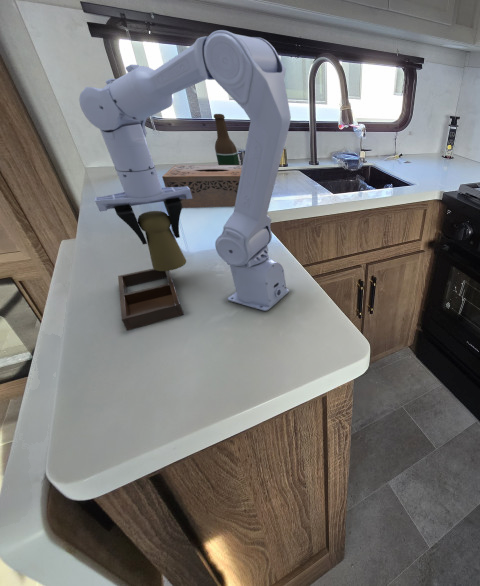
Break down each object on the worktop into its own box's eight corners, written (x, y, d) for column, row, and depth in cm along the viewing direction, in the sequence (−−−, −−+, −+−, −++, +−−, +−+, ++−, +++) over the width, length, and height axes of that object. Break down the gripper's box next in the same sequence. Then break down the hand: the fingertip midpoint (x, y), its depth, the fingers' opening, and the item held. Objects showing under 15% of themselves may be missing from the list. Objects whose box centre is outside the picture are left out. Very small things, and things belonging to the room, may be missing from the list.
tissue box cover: (259, 192, 124) (255, 165, 119) (256, 205, 113) (251, 175, 107) (183, 194, 118) (174, 165, 113) (172, 208, 107) (162, 176, 101)
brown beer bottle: (246, 180, 135) (234, 114, 122) (230, 184, 130) (215, 116, 116) (234, 177, 139) (221, 112, 125) (217, 181, 133) (202, 113, 120)
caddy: (183, 314, 63) (179, 304, 61) (127, 330, 58) (121, 319, 57) (171, 275, 74) (167, 265, 72) (122, 286, 69) (118, 275, 68)
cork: (178, 254, 72) (162, 205, 66) (191, 263, 69) (175, 213, 63) (147, 263, 68) (127, 212, 62) (160, 274, 65) (139, 221, 59)
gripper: (177, 159, 64) (196, 225, 72) (81, 167, 57) (114, 240, 64) (185, 167, 60) (205, 236, 68) (83, 177, 52) (118, 254, 60)
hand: (161, 239), depth 66 cm, fingers closed on cork, 5 cm apart
